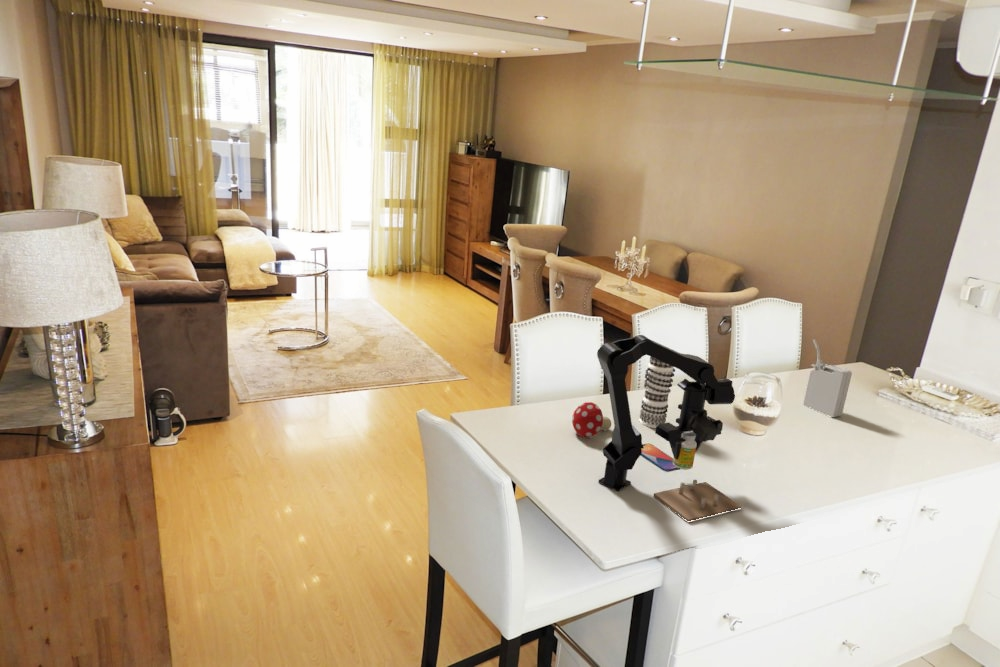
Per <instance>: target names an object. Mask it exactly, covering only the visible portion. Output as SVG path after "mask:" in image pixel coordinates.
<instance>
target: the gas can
mask: <svg viewBox="0 0 1000 667" xmlns="http://www.w3.org/2000/svg"><path fill="white" fill-rule="evenodd" d="M812 342H813V344H814V346H815V347H814V348H815V350H816V357H817V358H816V359H817V360H816V363H812V364H811V366H812V367H813V369H812V370H810V371H809V372H810V373H809V376H808V380H807V385H806V390H805V394H804V399H803V406H805V405H806V406H805V407H807V406H808V407H807V408H809V407H811V408H813V409H815V410H814V411H816V410H817V411H816V412H818V411H820V412H822V413H824V414H827V415H829V416H831V417H833V418H836V417H837V416H838V417H841V416H843V412H844V408H845V403H846V400H847V396H848V392H849V389H850V388H849V387H850V383H851V378H852V374H853V373H852V371H851V370H850V369H847V368H843V367H840V366H837V365H835V364H828V363H826V362H825V361H824V360H822V359H821V349H820V346H819V344H818V342H817V339H815V338H814V339H812ZM811 408H810V409H811ZM813 409H812V410H813ZM820 412H819V413H820ZM822 413H821V414H822ZM824 414H823V415H824ZM827 415H826V416H827ZM829 416H828V417H829ZM831 417H830V418H831ZM838 417H837V418H838Z"/></svg>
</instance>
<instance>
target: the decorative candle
mask: <svg viewBox="0 0 1000 667" xmlns="http://www.w3.org/2000/svg"><path fill="white" fill-rule="evenodd" d="M649 357H650V358H649V362H648V366H647V368H646V369H645V374H644V378H645V380H644V384H643V388H644V395H643V399H642V400H641V407H640V410H639V411H640V412H639V413H640V414H639V419H638V420H639V421H640V422H639V423H640V424H641V425H643V426H645V427H649V428H653V429H656V426H657V425H658V424H662V423H667V421H666V420H667V419H666V418H667V413H668V408H669V404H668V403H669V394H670V393H671V392H672V390H671V387H673V384H672V383H673V382H674V380H673V377H675V373H674V372H676V369H675V367H673V366H671V365H669V364H667V363H664V362H662V361H660V360H658V359H655V358H653V357H651V356H649Z"/></svg>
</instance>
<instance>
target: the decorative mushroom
mask: <svg viewBox="0 0 1000 667" xmlns="http://www.w3.org/2000/svg"><path fill="white" fill-rule="evenodd" d="M571 423H572V426H573V430H574V431H575V433H576V434H578V435H579V436H580V437H582V438H584V437H586V438H592V437H595V436H596V435H598V433H599V432H600V431H604V430H606V431H608V430H610V428H611V427H612V421H611V419H610V418H609V417H607V416H604V415H603V412H602V409H601V408H600V406H599V405H598V404H596V403H594V402H592V401H589V402H588V401H585V402H583V403H582V404H580V405H579V406H577V408H575V410H574V411H573V414H572V421H571Z"/></svg>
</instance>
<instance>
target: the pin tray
mask: <svg viewBox="0 0 1000 667" xmlns="http://www.w3.org/2000/svg"><path fill="white" fill-rule="evenodd" d="M653 498H655V499H656V501H658V502H660V503H661V504H662V505H664V506H665V505H666V506H667V507H669V508H670V509H671V510H673V511H674V512H676V513H677V514H679V515H680V516H681V517H683V518H684V519H686V520H687V521H691V520H696V519H699V518H703V517H707V516H711V515H715V514H718V513H722V512H726V511H731V510H735V509H738V508H741V509H742V507H743V505H741V504H740V503H738V502H737V501H735V500H733V499H732V498H730V497H729V496H727V495H726V494H724V493H723V492H721V491H720V490H718V489H717V488H716V487H714V486H712V485H711V484H709V483H708V482H706V481H705V482H704V481H703V482H698V480H696V479H693V480H692V484H690V485H686V486H685V483H684V482H680V485H679V487H676V488H672V489H668V490H663V491H659V492H653ZM666 506H665V507H666ZM667 507H666V508H667ZM669 508H668V509H669ZM670 509H669V510H670ZM671 510H670V511H671ZM673 511H672V512H673ZM674 512H673V513H674ZM677 514H676V515H677ZM681 517H680V518H681Z"/></svg>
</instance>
